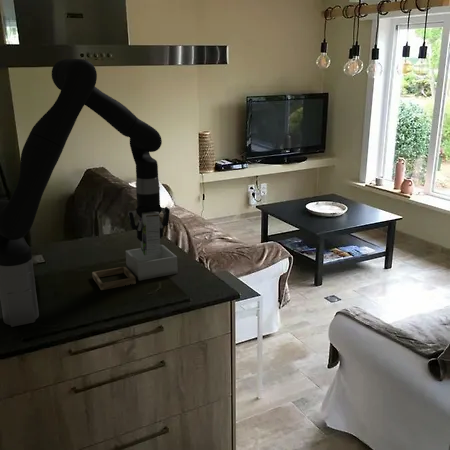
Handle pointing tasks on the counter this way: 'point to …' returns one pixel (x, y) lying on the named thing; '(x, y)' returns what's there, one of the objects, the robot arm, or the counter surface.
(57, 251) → the counter surface
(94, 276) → the socket collar
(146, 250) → the syrup box
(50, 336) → the counter surface
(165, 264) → the bin
